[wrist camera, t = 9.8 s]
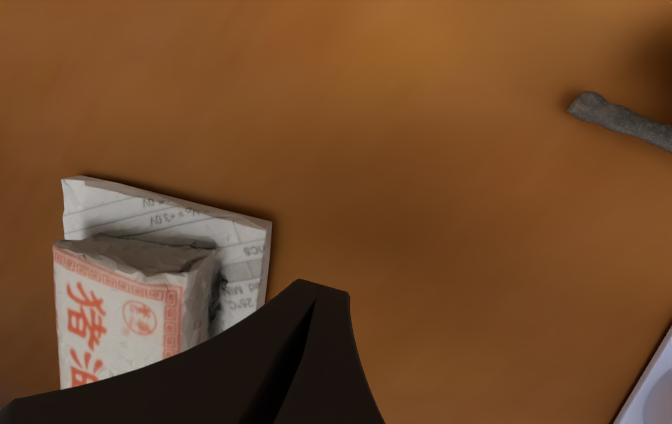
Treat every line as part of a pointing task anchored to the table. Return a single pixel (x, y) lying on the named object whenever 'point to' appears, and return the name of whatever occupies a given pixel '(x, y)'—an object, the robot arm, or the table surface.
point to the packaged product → (148, 277)
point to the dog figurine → (620, 119)
